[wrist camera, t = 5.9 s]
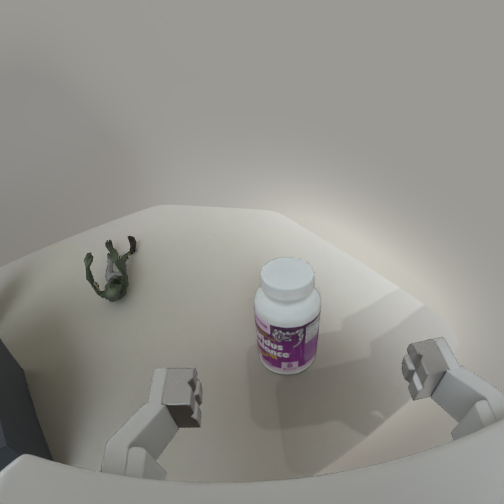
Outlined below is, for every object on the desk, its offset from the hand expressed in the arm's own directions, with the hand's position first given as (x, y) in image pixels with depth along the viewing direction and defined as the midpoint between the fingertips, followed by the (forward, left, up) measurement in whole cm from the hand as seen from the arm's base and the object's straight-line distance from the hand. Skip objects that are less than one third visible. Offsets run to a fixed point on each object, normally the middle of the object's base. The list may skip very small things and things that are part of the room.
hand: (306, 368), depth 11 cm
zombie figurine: (+33, -1, -14) cm, 36 cm away
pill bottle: (+9, -8, -14) cm, 19 cm away
